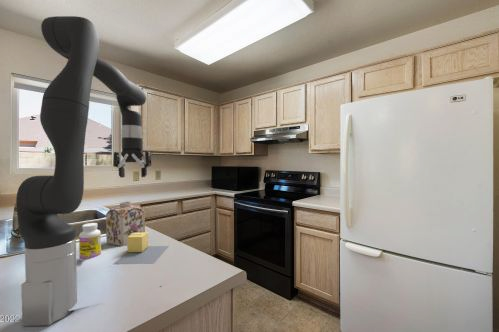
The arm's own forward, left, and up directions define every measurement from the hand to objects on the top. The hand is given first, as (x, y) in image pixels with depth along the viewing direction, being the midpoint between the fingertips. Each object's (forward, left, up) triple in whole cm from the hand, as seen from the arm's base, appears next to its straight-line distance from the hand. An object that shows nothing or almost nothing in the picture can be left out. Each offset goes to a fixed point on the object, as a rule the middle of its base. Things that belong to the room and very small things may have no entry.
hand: (132, 177), depth 92 cm
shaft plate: (-7, -7, -30) cm, 32 cm away
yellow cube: (-3, -3, -28) cm, 29 cm away
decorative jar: (+11, +9, -30) cm, 34 cm away
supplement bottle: (-7, +13, -30) cm, 34 cm away
